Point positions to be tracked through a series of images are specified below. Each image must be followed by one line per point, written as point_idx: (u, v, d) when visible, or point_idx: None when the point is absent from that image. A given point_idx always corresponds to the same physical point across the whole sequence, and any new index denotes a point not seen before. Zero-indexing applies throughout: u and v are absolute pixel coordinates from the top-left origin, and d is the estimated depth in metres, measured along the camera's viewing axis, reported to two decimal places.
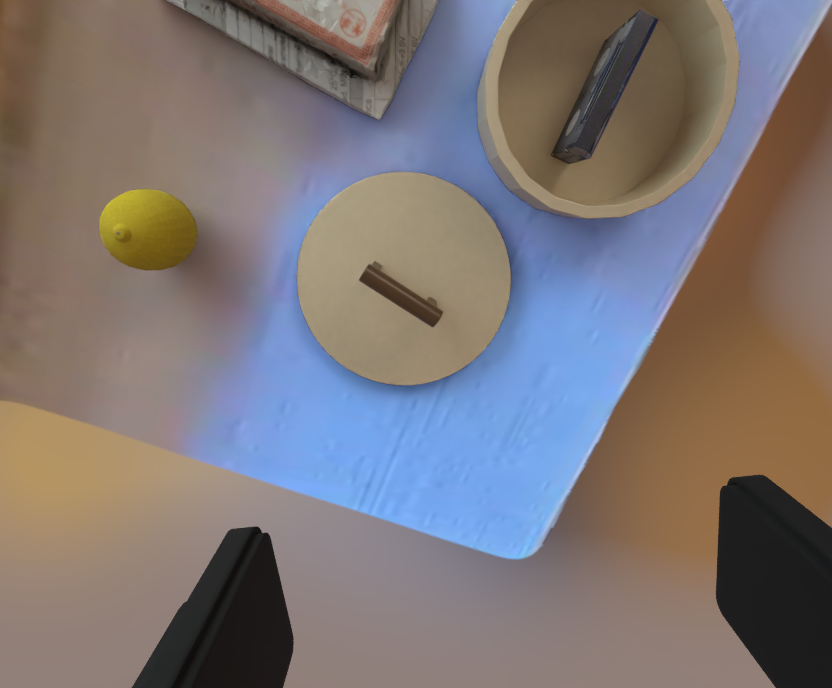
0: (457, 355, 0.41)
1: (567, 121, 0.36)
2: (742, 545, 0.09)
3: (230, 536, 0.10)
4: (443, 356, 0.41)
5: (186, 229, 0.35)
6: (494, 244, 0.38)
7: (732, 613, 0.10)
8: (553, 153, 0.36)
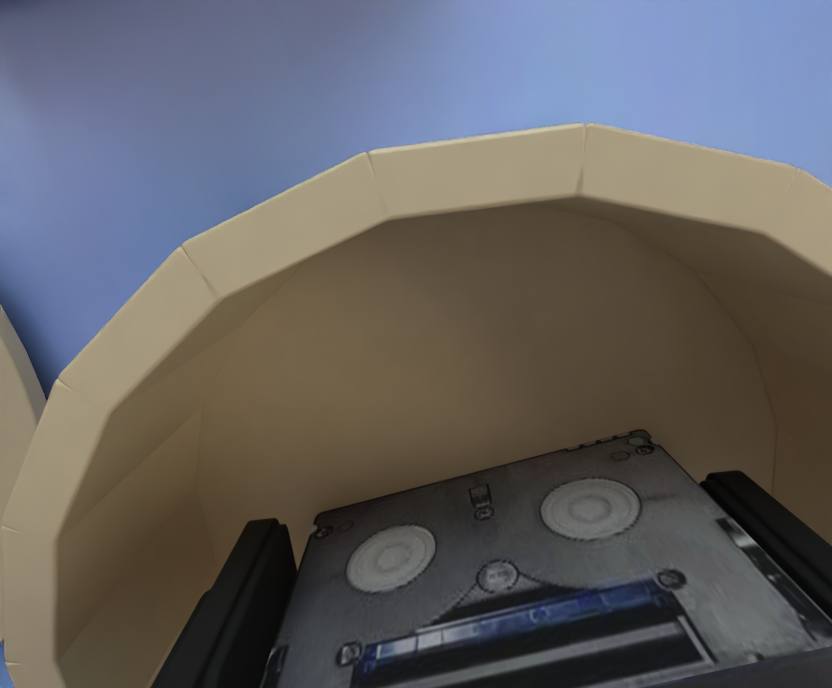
0: None
1: (411, 496, 0.12)
2: None
3: (249, 527, 0.10)
4: None
5: None
6: None
7: None
8: (313, 531, 0.12)
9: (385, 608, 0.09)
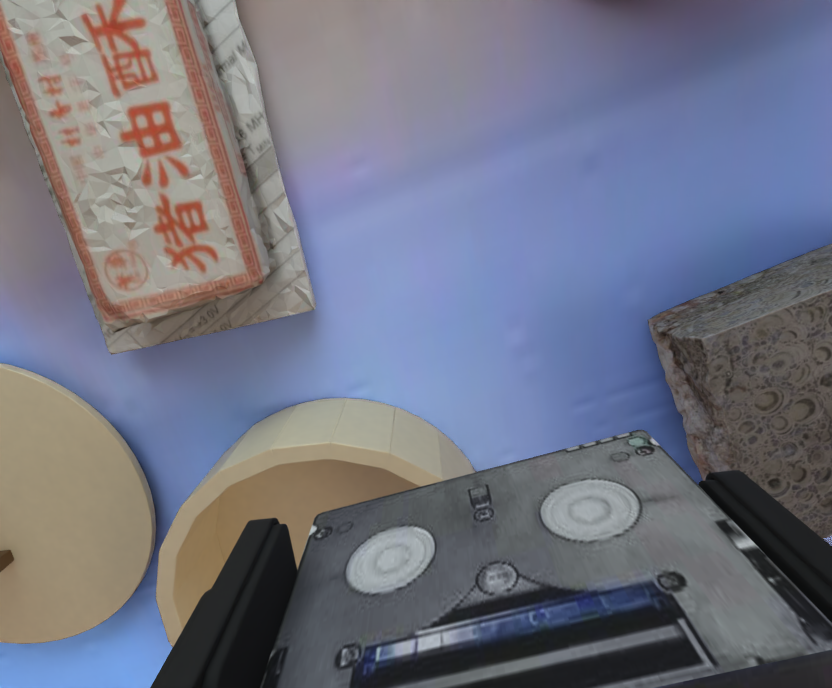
0: None
1: (411, 497, 0.12)
2: None
3: (250, 527, 0.10)
4: None
5: None
6: (130, 568, 0.27)
7: None
8: (313, 532, 0.12)
9: (385, 610, 0.09)
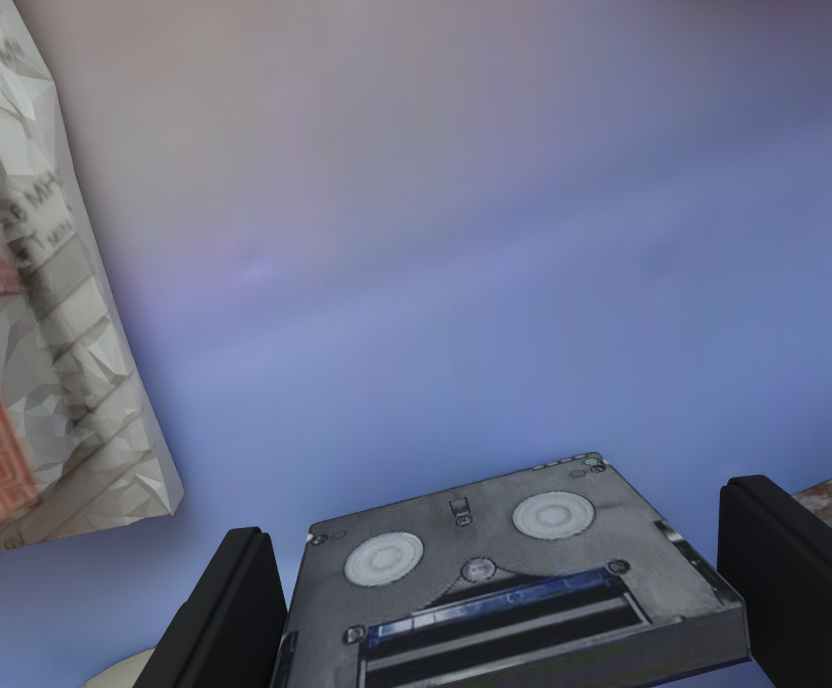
0: None
1: (398, 508, 0.14)
2: (742, 545, 0.09)
3: (230, 536, 0.10)
4: None
5: None
6: None
7: None
8: (310, 539, 0.13)
9: (383, 598, 0.10)
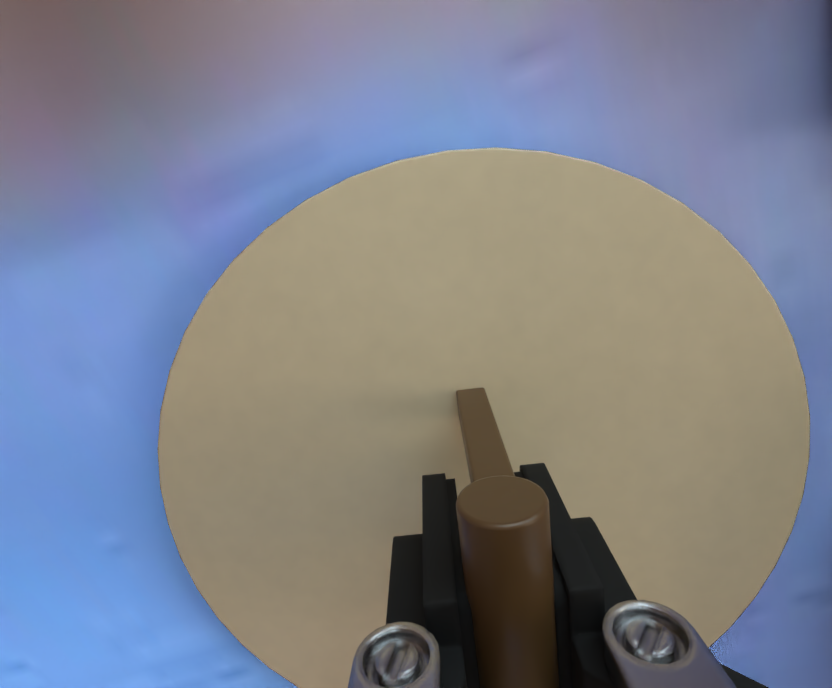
0: None
1: None
2: None
3: (427, 480, 0.11)
4: None
5: None
6: (724, 599, 0.14)
7: None
8: None
9: None
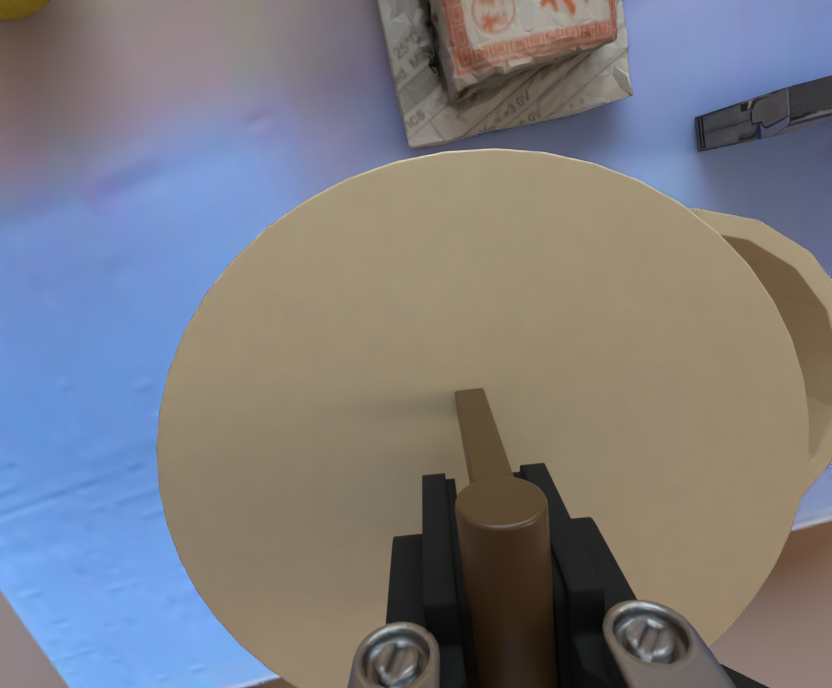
0: None
1: None
2: None
3: (427, 480, 0.11)
4: None
5: None
6: (723, 599, 0.14)
7: None
8: (705, 114, 0.22)
9: None
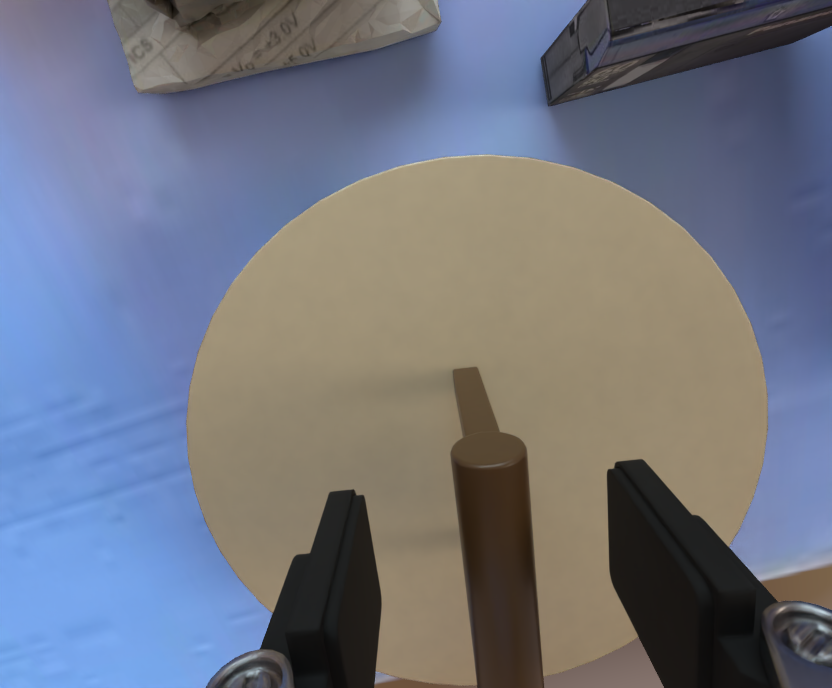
0: (418, 653, 0.16)
1: None
2: (620, 521, 0.10)
3: (332, 497, 0.11)
4: (394, 633, 0.16)
5: None
6: None
7: (618, 584, 0.11)
8: None
9: None
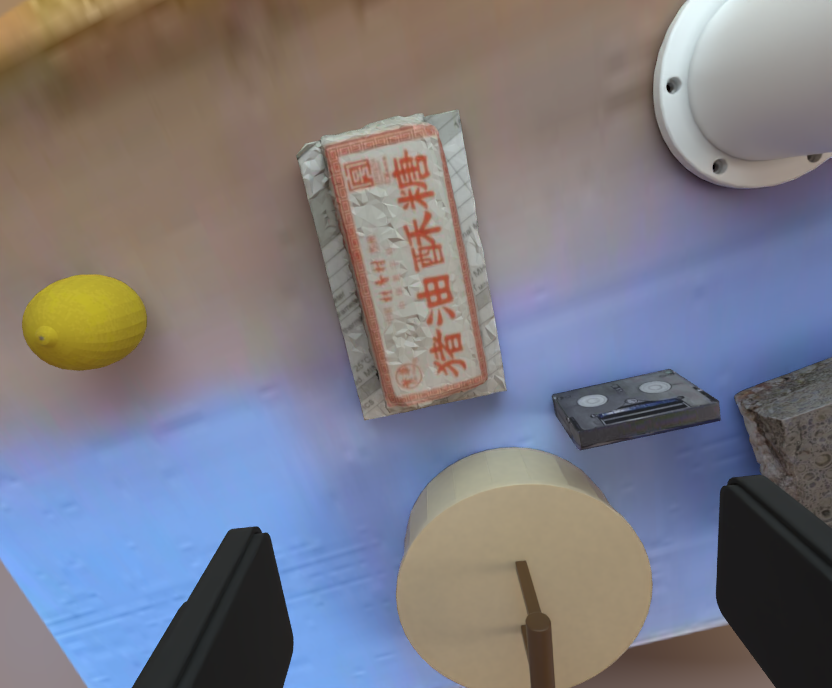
0: (494, 681, 0.35)
1: (588, 388, 0.35)
2: (742, 545, 0.09)
3: (230, 536, 0.10)
4: (483, 672, 0.34)
5: (119, 357, 0.30)
6: (622, 639, 0.34)
7: (732, 613, 0.10)
8: (555, 398, 0.35)
9: (599, 408, 0.32)
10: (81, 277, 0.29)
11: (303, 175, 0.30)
